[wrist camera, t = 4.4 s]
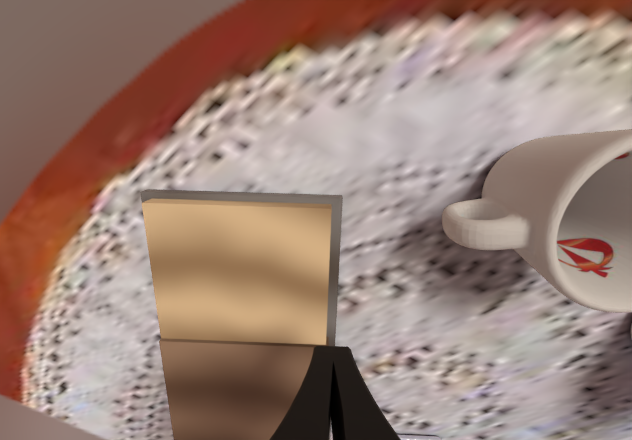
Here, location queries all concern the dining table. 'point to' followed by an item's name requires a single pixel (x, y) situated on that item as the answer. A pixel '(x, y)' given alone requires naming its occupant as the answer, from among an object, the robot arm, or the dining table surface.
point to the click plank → (240, 269)
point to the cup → (560, 214)
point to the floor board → (241, 355)
